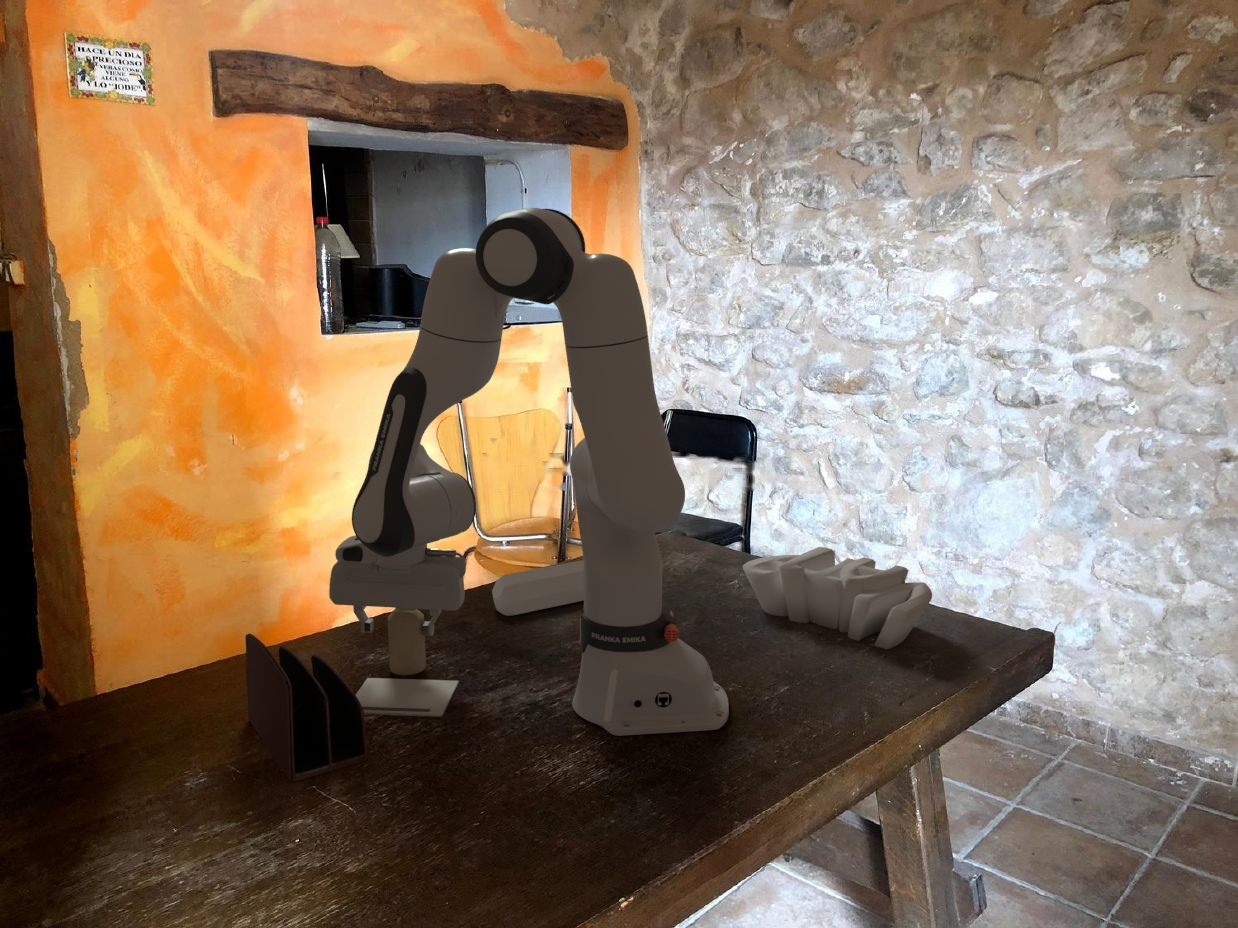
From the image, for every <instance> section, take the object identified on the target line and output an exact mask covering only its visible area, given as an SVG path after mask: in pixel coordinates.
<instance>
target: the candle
mask: <svg viewBox="0 0 1238 928" xmlns="http://www.w3.org/2000/svg"><path fill="white" fill-rule="evenodd" d="M424 622H425V615H424V614H423V613H422V612H421V610H420V609H413V608H394V609H393V610H392V612H391V613H390V614H389V615H388V616H387V632H388V633H387V635H388V659H389V670H390V672H391V673H393V674H394V675H397V676H411V675H412V676H413V675H416V674H419V673H422V672H423V671H425V669H426V666H427V664H426V663H427V661H426V660H427V659H426V636H424V635H423V634H422V632H423V630H422V626H423V624H424Z"/></svg>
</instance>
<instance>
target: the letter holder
mask: <svg viewBox="0 0 1238 928" xmlns="http://www.w3.org/2000/svg"><path fill="white" fill-rule="evenodd" d="M244 639H245V662H246V664H245V670H246V671H245V673H246V676H245V678H246V696H247V697H246V698H247V717H248V721H249V722H250V724H251V725H252V726H253V728H254V730H255V731H256V732H257V734H258V735H259V736H260V738H261V739H262V741H263V743H264V744H265V746H266V747H267V749H268V751H270V754H271V755H272V757H274V759H275V761H276V763H277V765H279V767H280V768H281V770H282V771H283V773H284V774H285V775H286V777H287V778H288V781H289V782H290V783H291V784H293V783H297V782H300V781H304V780H307V779H311V778H314V777H317V776H321V775H325V774H328V773H331V772H334V771H337V770H341V769H344V768H347V767H351V766H354V765H358V764H361V763H365V762H367V761H368V759H369V758H368V757H369V754H368V745H367V744H368V742H367V732H366V721H365V714H364V712H363V708H362V706H361V703H360V702H359V700H358V698H357V697H356V694H355V693H354V691H353V690H352V689H351V687H350V686H349V685H348V684H347V683H346V682H345V681H344V679H343V678H342V677H341V676H340V675H339V674H338V672H336V671H335V669H333V668H332V666H331V665H330V664H329V663H328V662H326V660H324V659H323V658H321V657H320V656H318V655H315V654H313V655H311V658H310V660H311V668H312V669H311V670H312V672H311V670H310V669H309V667H307V666H306V665H305V664H304V663H303V661H302V660H301V658H299V657H298V656H297V655H296V654H295V653H294V652H293V651H292V650H290V649H289V648H287V647H286V646H284V645H282V646H279V648H278V659H279V661H278V660H277V658H276V657H275V656H274V654H273V653H272V652H271V651H270V649H269V648H268V647H267V646H266V645H265V643H263V642H262V641H261V640H260V639H259V638H257V637H256V636H255V635H254V634H252V633H248V634H245V638H244Z"/></svg>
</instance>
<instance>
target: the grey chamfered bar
mask: <svg viewBox="0 0 1238 928" xmlns="http://www.w3.org/2000/svg"><path fill="white" fill-rule="evenodd" d="M491 593H492V597H493V603H494V607H495V609H496V611H497V612H499V614H500V613H501V614H502V615H503V616H507V617H509V616H515V615H516V616H517V615H520V614H525V613H531V612H535V611H539V610H544V609H549V608H554V607H559V606H564V605H569V604H574V603H579V602H584V563H583V559H582V560H577V561H572V562H566V563H561V564H556V565H550V566H549V565H548V566H545V567H540V568H534V569H533V568H532V569H527V570H523V571H517V572H512V573H507V574H503V575H502V576H500V577H499V578H498V579H496V580H495V584H494V586H493V588H492V590H491Z"/></svg>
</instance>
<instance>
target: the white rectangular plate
mask: <svg viewBox="0 0 1238 928" xmlns="http://www.w3.org/2000/svg"><path fill="white" fill-rule="evenodd" d="M459 683H460V682H459V680H451V679H450V680H444V679H419V678H417V679H414V678H413V679H412V678H380V677H367V678H366V679H365V681H364V682H363V684H362V686H361V687H360V688H359V690H358V691H357V692H356V694H355V695H356V697H357V698H358V700H359V702H360V703H361V706H362V708H363V712H364V715H376V716H377V715H378V716H379V715H380V716H382V715H383V716H406V717H432V718H433V717H434V718H435V717H436V718H437V717H438V718H442V717H443V715H444V714H445V711H446V710H447V708H448V705H449V704H450V702H451V700H452V697H453V695H454V693H455V691H456V689H457V687H458V685H459Z"/></svg>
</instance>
